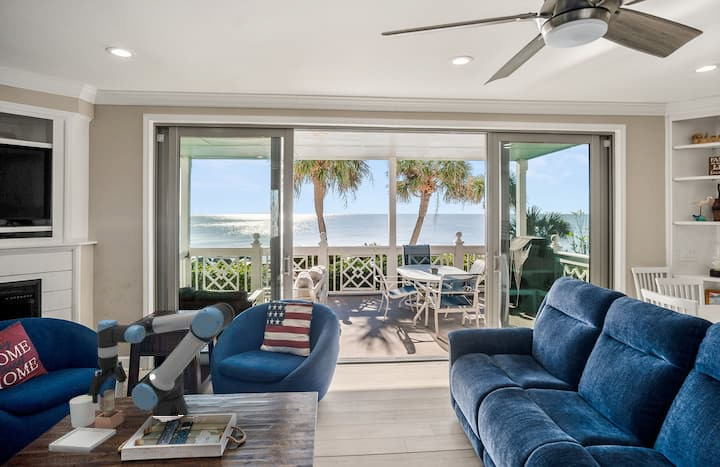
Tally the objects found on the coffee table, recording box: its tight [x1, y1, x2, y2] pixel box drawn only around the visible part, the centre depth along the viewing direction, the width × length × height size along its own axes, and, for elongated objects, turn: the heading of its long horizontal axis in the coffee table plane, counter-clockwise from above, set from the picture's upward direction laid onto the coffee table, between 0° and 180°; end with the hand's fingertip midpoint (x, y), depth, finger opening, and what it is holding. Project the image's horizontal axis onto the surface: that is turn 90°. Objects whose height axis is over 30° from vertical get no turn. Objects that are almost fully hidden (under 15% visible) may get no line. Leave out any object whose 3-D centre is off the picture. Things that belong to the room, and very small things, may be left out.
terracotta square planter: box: [94, 409, 125, 429], centre depth 178 cm, size 8×8×6 cm
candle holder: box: [69, 394, 96, 429], centre depth 180 cm, size 10×10×12 cm
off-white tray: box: [48, 427, 117, 454], centre depth 165 cm, size 18×14×2 cm
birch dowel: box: [103, 389, 116, 417], centre depth 178 cm, size 4×4×15 cm
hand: (108, 403), depth 178 cm, fingers open, 13 cm apart
